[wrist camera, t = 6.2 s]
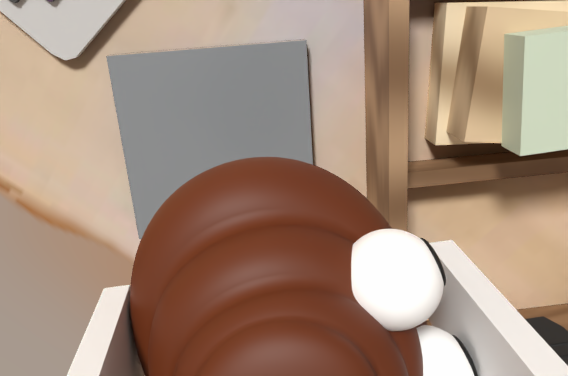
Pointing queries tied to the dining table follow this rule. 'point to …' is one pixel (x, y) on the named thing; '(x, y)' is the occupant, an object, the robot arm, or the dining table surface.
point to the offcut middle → (488, 68)
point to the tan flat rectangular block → (446, 58)
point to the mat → (207, 112)
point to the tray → (394, 134)
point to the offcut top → (535, 91)
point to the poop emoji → (285, 281)
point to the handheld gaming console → (61, 22)
